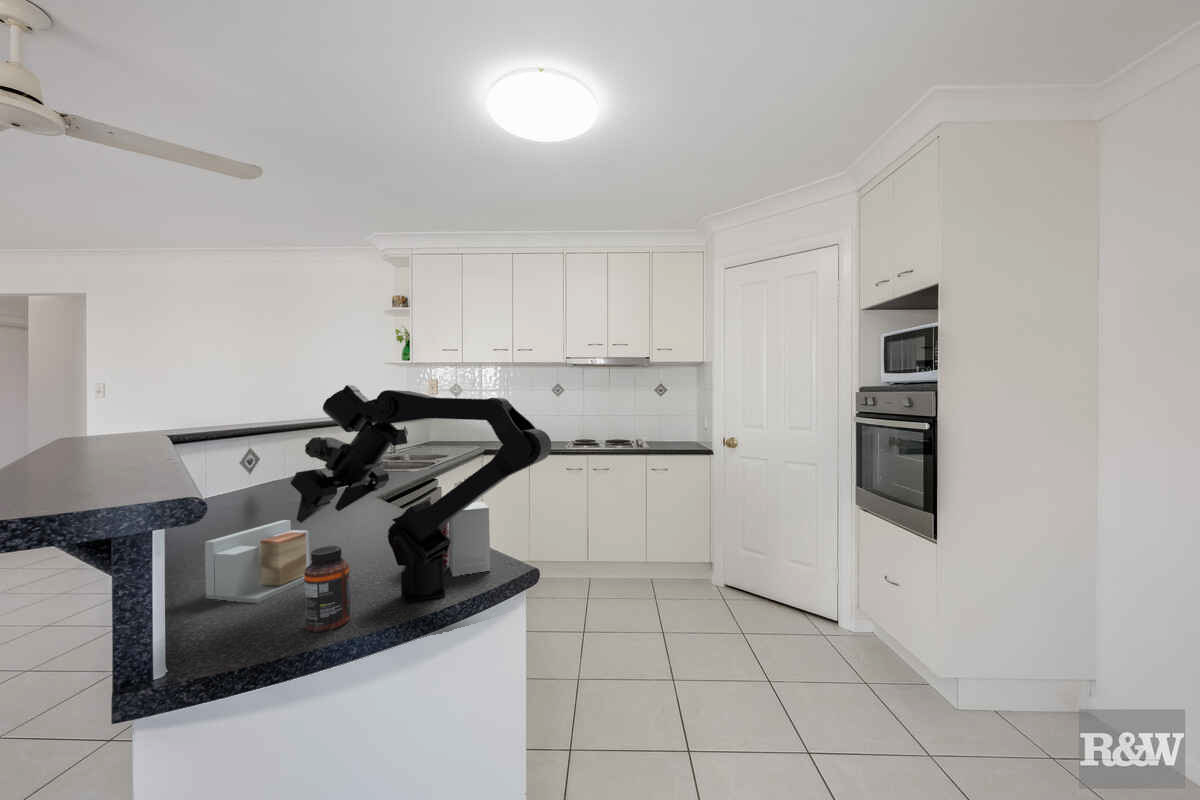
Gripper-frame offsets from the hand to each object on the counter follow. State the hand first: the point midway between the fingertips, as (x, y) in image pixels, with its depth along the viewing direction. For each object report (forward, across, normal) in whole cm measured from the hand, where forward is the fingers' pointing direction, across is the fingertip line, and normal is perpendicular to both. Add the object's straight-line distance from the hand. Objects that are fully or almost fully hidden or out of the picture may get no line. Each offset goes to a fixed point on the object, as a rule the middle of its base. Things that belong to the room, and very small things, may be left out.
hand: (319, 515), depth 88 cm
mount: (+17, -1, 0) cm, 17 cm away
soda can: (+1, -14, +20) cm, 24 cm away
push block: (+15, -1, +1) cm, 15 cm away
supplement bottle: (+2, +13, +18) cm, 22 cm away
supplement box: (-4, -13, +26) cm, 30 cm away
